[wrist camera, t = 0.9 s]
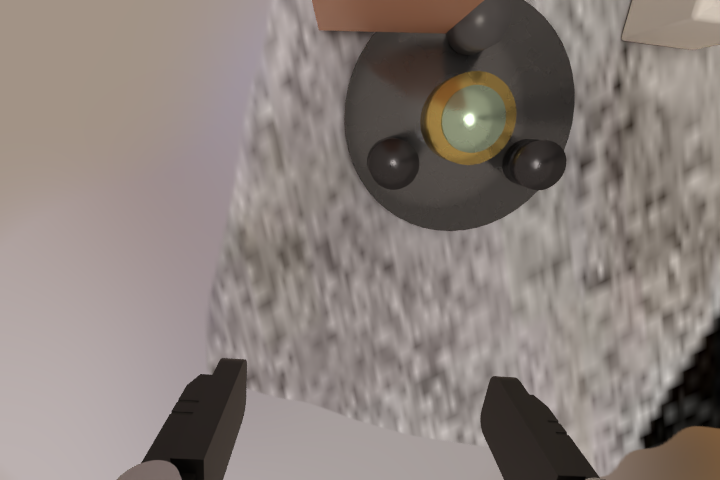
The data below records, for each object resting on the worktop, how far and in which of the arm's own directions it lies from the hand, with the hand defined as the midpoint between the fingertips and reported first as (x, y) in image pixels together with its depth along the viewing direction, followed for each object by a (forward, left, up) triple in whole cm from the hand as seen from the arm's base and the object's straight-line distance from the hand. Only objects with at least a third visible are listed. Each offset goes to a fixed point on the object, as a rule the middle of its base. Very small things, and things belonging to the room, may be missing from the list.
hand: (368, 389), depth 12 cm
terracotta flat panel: (-5, -16, -22) cm, 28 cm away
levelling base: (-10, -9, -25) cm, 28 cm away
